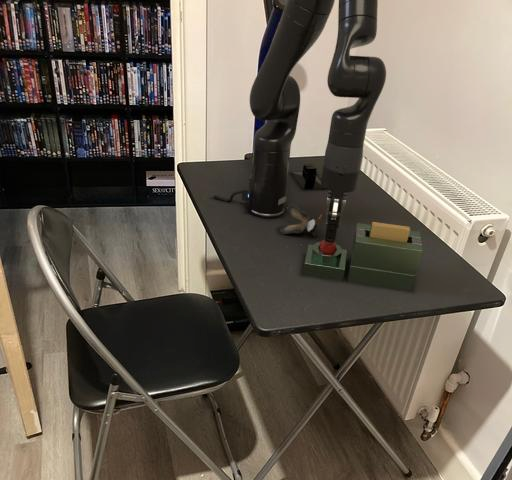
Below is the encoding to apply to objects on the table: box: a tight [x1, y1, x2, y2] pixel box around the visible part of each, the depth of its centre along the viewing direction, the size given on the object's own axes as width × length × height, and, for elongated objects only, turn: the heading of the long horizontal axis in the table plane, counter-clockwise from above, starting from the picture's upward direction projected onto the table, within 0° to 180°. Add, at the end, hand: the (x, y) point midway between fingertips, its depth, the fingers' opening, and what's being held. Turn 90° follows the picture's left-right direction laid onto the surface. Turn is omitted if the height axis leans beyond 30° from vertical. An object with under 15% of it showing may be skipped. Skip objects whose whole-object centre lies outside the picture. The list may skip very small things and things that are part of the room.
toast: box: [369, 221, 411, 243], centre depth 124 cm, size 8×2×8 cm, turn 81°
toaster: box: [347, 222, 423, 292], centre depth 126 cm, size 14×9×10 cm, turn 80°
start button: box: [319, 239, 337, 253], centre depth 127 cm, size 4×4×2 cm
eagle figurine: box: [279, 203, 323, 238], centre depth 141 cm, size 8×7×9 cm
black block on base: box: [290, 163, 326, 191], centre depth 168 cm, size 12×7×5 cm, turn 13°
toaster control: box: [302, 241, 348, 282], centre depth 129 cm, size 9×9×5 cm
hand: (329, 240), depth 126 cm, fingers closed
